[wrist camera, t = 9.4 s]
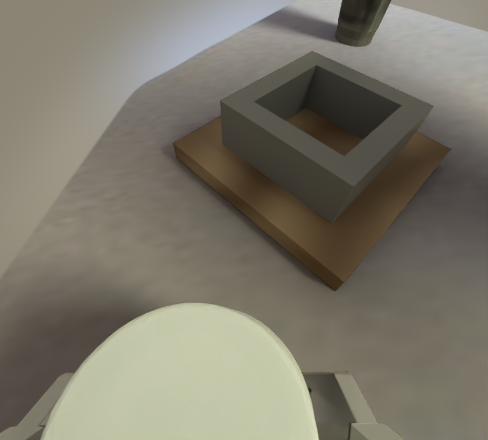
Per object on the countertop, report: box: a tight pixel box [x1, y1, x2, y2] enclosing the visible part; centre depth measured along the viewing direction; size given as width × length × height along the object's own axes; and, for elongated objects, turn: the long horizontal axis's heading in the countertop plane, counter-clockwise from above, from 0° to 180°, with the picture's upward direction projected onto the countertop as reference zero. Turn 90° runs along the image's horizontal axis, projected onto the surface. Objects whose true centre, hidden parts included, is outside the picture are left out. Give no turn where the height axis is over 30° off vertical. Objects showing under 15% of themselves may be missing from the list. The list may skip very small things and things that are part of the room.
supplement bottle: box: [40, 303, 319, 440], centre depth 8 cm, size 5×5×10 cm
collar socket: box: [173, 51, 451, 291], centre depth 19 cm, size 15×15×5 cm
